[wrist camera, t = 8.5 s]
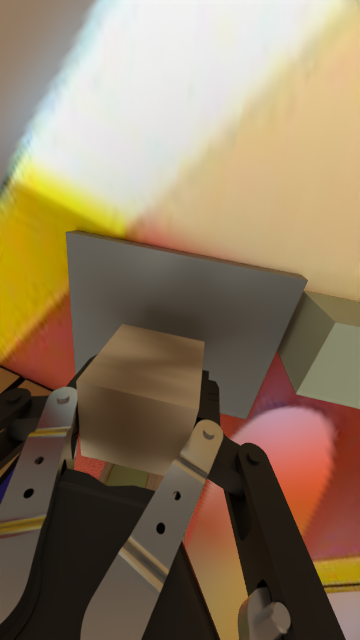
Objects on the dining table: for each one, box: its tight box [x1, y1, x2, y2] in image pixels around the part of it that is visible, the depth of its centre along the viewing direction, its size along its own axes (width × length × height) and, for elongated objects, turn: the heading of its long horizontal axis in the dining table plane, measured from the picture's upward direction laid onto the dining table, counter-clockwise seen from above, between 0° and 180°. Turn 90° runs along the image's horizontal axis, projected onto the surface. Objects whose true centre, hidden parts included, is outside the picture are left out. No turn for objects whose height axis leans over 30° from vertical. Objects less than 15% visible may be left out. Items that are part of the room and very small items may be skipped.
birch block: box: [76, 324, 205, 476], centre depth 12 cm, size 5×5×5 cm
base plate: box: [66, 231, 308, 419], centre depth 18 cm, size 16×13×1 cm
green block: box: [277, 291, 360, 409], centre depth 14 cm, size 5×5×5 cm
